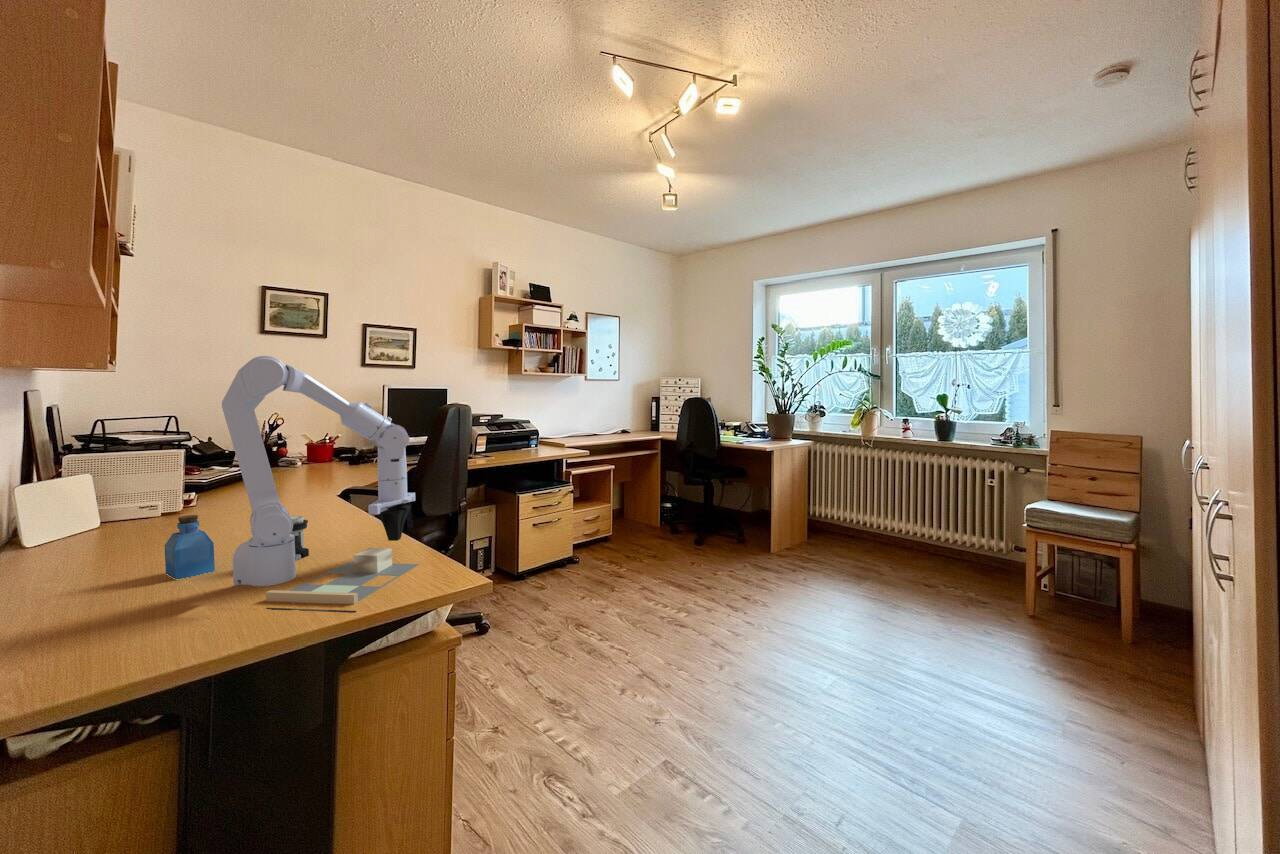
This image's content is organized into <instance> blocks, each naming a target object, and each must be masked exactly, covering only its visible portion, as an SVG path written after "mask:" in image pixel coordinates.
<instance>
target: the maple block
mask: <svg viewBox="0 0 1280 854" xmlns="http://www.w3.org/2000/svg"><path fill="white" fill-rule="evenodd" d="M392 550H393V548H388V547H386V548H384V547H368V548H366V549H364V550H362V551H359V552H357V553H355V554H353V562H354V572H360V573H378V572H380V571H382V570H384V569H386V568H388V567H389V566H391V565H392V563H393V551H392Z"/></svg>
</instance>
